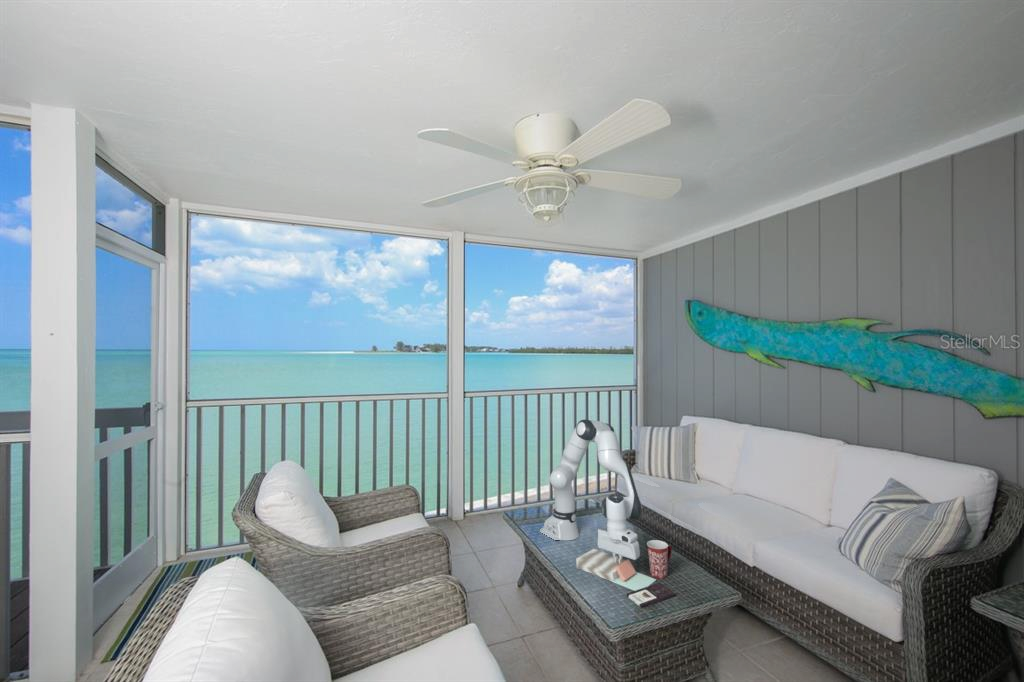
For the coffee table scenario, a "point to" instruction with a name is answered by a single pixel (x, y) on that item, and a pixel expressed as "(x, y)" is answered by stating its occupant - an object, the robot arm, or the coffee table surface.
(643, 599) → the chocolate bar
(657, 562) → the mug
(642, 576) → the mat
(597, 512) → the coffee table surface
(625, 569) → the salmon pink eraser
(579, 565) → the striped beige block
